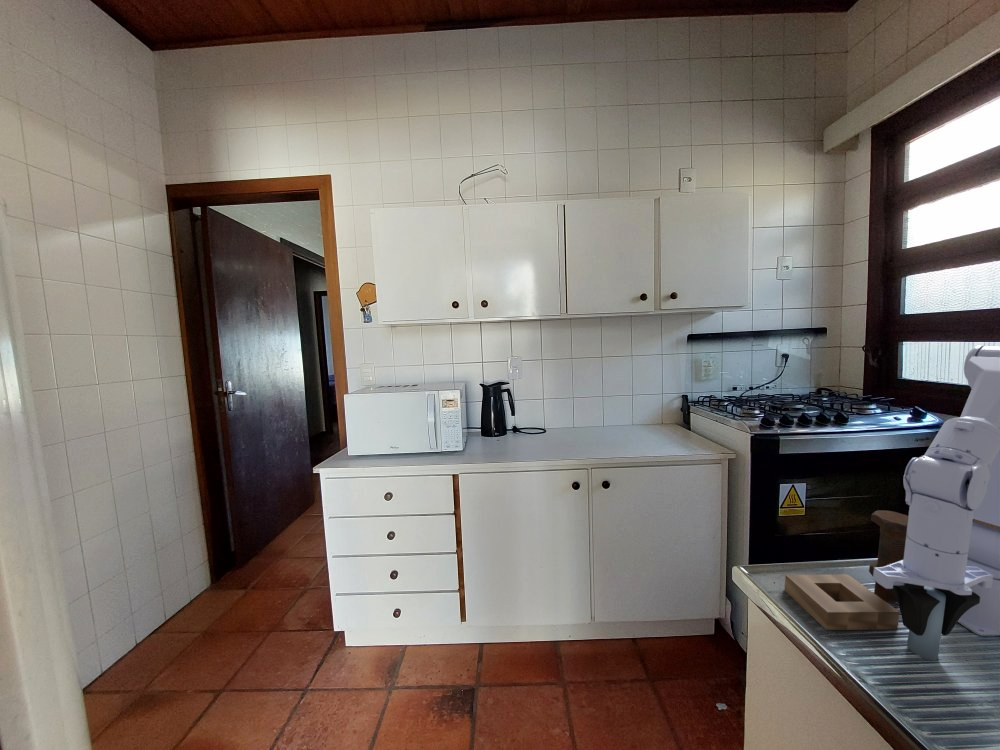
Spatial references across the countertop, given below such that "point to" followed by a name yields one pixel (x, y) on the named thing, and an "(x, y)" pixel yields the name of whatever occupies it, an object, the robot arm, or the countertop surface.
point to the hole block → (852, 612)
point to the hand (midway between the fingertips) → (924, 630)
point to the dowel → (930, 630)
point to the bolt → (889, 545)
